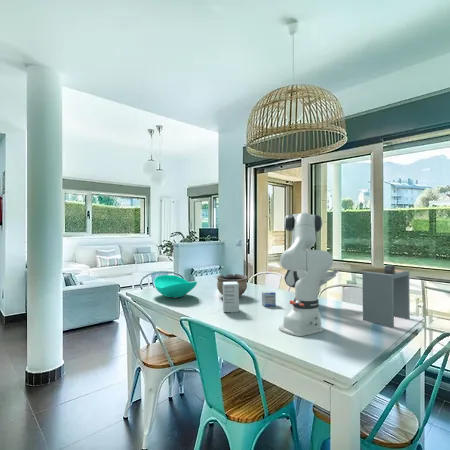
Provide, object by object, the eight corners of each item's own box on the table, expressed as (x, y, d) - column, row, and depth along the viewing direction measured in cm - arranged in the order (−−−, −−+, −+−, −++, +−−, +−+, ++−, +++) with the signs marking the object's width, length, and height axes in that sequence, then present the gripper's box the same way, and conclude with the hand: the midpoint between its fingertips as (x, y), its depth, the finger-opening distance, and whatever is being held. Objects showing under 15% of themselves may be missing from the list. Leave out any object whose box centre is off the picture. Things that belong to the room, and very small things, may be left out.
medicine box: (264, 307, 190) (264, 293, 190) (261, 305, 194) (261, 291, 194) (275, 306, 192) (275, 292, 192) (272, 304, 196) (272, 291, 196)
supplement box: (239, 312, 178) (239, 284, 178) (223, 313, 177) (223, 284, 177) (237, 308, 187) (237, 281, 187) (222, 308, 187) (222, 281, 187)
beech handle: (390, 274, 154) (390, 266, 154) (350, 269, 172) (350, 262, 172) (394, 273, 157) (394, 265, 158) (354, 268, 175) (354, 261, 175)
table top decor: (206, 299, 210) (206, 280, 210) (170, 305, 194) (170, 285, 194) (179, 289, 242) (179, 273, 242) (146, 294, 225) (146, 277, 225)
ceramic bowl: (241, 292, 231) (240, 273, 231) (252, 299, 210) (252, 277, 210) (213, 294, 224) (213, 274, 224) (222, 301, 203) (222, 279, 203)
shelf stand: (392, 327, 151) (391, 274, 151) (362, 320, 162) (362, 271, 162) (409, 318, 164) (409, 270, 164) (381, 312, 176) (381, 267, 176)
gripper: (303, 277, 187) (320, 268, 177) (322, 274, 200) (339, 265, 190) (308, 287, 184) (325, 278, 175) (327, 283, 197) (344, 274, 188)
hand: (332, 271), depth 183 cm, fingers open, 8 cm apart
